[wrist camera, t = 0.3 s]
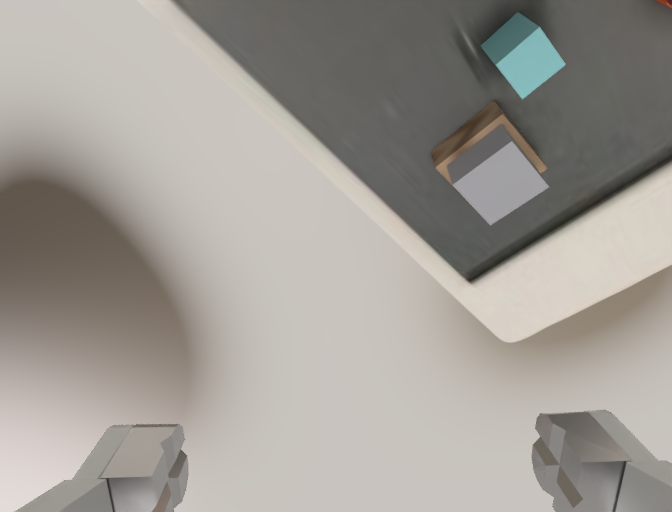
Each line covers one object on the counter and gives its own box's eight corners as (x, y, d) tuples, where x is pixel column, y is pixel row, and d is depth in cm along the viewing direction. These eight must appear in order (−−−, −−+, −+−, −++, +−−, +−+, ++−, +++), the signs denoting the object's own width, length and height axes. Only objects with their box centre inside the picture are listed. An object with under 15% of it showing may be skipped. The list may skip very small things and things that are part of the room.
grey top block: (501, 123, 53) (511, 140, 49) (536, 167, 56) (549, 187, 52) (446, 165, 57) (452, 184, 53) (482, 204, 60) (490, 225, 56)
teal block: (517, 11, 50) (539, 27, 44) (541, 45, 52) (565, 64, 45) (480, 46, 52) (495, 64, 46) (504, 76, 54) (522, 99, 48)
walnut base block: (493, 99, 56) (502, 113, 52) (535, 151, 60) (547, 168, 56) (430, 151, 61) (435, 167, 57) (474, 196, 65) (481, 214, 61)
